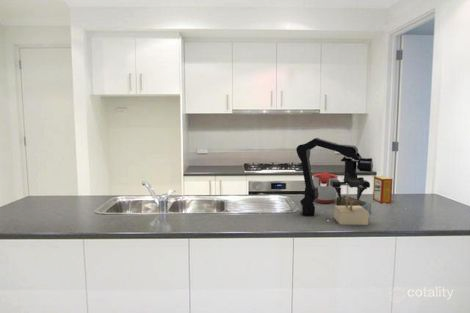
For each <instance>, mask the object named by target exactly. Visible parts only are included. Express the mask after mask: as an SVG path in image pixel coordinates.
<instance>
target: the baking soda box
mask: <svg viewBox="0 0 470 313" xmlns="http://www.w3.org/2000/svg"><path fill="white" fill-rule="evenodd" d="M392 192H393V178H391V177H387V176H386V175H385V176H384V175H380V176H379V175H377V176H374V177H373V192H372V193H373V194H372V200H373V201H375V202H377V203H379V204H382V205H383V203H386V204H392V195H393V194H392Z"/></svg>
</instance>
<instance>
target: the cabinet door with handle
mask: <svg viewBox="0 0 470 313" xmlns="http://www.w3.org/2000/svg"><path fill="white" fill-rule="evenodd" d="M349 197H350V196H348V197H345V199H346V206H337V205H333V208H334V207H335V208H336V209H337V210H338V211H339V212H340V213H354V211H352V204H353V203H354V202H353V201H352V200H351V199H350V198H349ZM348 202H349V203H350V208H349V207H348Z"/></svg>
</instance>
